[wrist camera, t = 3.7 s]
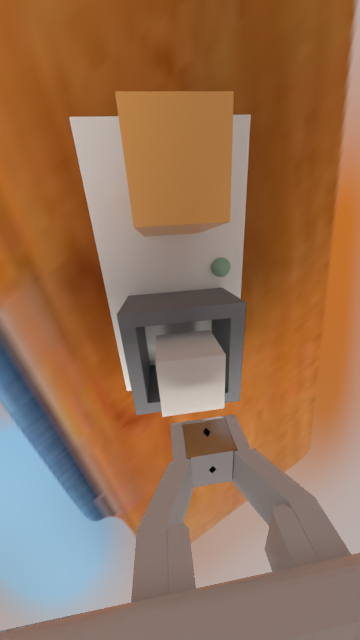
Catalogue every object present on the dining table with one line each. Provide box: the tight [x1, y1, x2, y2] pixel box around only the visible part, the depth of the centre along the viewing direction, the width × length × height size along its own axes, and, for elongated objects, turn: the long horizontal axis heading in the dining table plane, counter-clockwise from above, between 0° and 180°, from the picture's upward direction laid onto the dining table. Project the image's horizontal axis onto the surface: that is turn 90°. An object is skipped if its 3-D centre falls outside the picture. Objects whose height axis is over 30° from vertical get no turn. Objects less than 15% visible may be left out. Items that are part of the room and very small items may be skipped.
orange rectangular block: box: [115, 91, 234, 237], centre depth 11 cm, size 4×4×7 cm
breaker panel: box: [69, 114, 251, 415], centre depth 14 cm, size 22×12×6 cm, turn 4°
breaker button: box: [155, 330, 226, 417], centre depth 13 cm, size 4×4×4 cm
